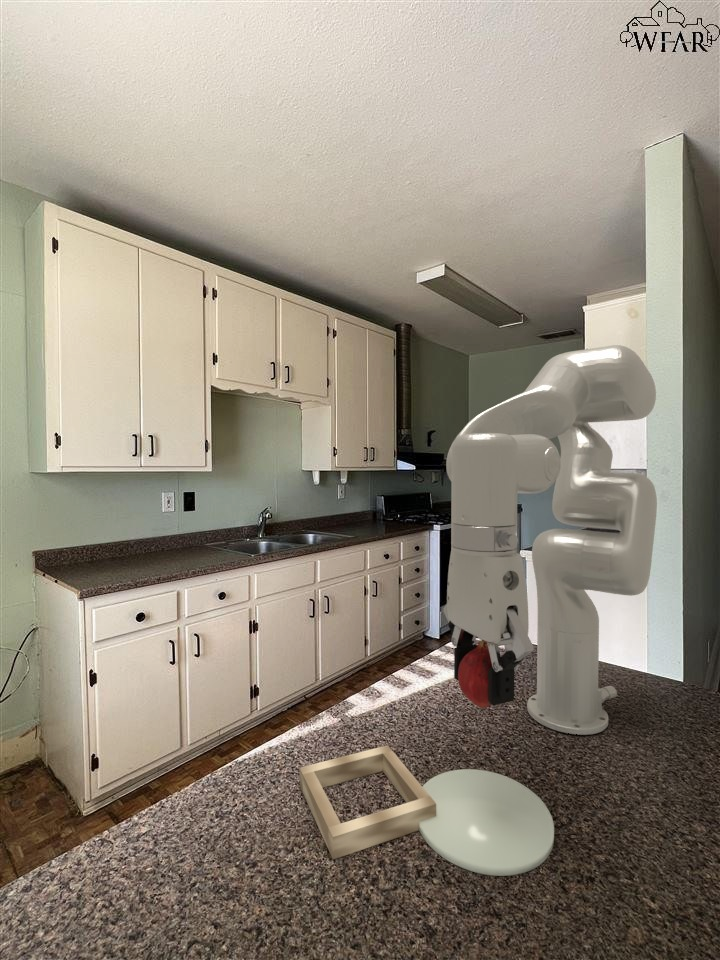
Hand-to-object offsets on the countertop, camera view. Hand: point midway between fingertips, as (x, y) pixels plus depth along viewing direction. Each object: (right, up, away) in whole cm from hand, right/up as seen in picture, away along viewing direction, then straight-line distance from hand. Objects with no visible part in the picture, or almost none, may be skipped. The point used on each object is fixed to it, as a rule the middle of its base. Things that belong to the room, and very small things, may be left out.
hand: (482, 688), depth 58 cm
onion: (0, -3, 0) cm, 3 cm away
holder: (-14, -16, +3) cm, 22 cm away
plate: (0, -16, +1) cm, 16 cm away
